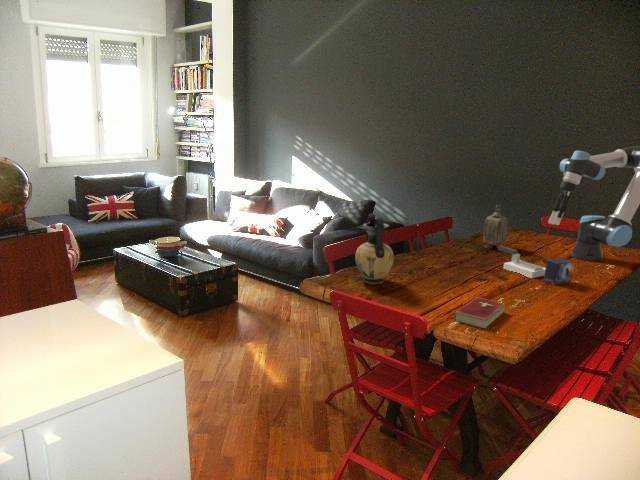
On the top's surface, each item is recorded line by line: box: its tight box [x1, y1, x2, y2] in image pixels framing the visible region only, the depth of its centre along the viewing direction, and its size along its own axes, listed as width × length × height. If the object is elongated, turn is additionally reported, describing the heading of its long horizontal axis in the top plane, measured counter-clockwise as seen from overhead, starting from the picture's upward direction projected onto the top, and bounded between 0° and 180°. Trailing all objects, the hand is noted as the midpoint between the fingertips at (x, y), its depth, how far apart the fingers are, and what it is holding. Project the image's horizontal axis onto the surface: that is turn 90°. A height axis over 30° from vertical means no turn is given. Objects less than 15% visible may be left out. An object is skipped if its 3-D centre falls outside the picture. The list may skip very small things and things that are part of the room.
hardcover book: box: [453, 296, 506, 329], centre depth 203 cm, size 12×21×4 cm, turn 143°
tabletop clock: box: [482, 203, 509, 249], centre depth 302 cm, size 14×9×25 cm, turn 144°
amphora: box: [354, 213, 394, 285], centre depth 237 cm, size 18×17×30 cm
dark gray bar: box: [497, 245, 544, 271], centre depth 264 cm, size 24×6×6 cm, turn 32°
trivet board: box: [502, 259, 546, 279], centre depth 261 cm, size 16×12×3 cm
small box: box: [543, 257, 574, 286], centre depth 246 cm, size 11×6×10 cm, turn 117°
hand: (553, 224), depth 260 cm, fingers open, 13 cm apart
